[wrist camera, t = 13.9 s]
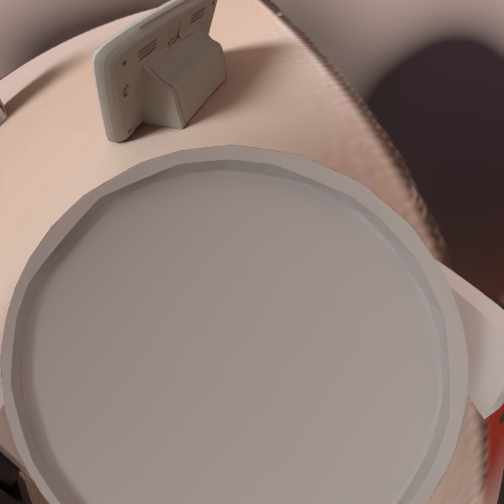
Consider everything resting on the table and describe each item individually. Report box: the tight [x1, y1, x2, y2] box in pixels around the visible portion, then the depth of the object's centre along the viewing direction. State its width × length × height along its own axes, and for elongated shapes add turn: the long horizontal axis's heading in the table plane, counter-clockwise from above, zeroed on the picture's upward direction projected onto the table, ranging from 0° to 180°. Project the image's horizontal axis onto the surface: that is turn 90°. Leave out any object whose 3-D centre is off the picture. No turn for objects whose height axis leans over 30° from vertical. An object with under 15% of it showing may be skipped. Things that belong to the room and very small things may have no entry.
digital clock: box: [92, 0, 226, 142], centre depth 21 cm, size 16×9×11 cm, turn 146°
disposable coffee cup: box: [0, 145, 469, 504], centre depth 9 cm, size 10×10×12 cm
